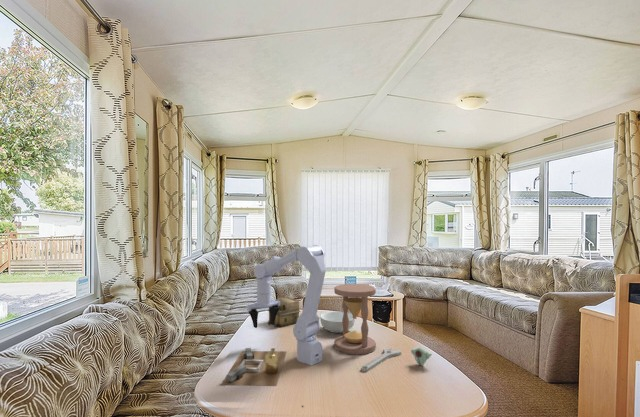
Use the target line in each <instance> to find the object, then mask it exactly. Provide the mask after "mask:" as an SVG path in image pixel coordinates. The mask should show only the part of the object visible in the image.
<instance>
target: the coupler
mask: <svg viewBox="0 0 640 417" xmlns="http://www.w3.org/2000/svg"><path fill="white" fill-rule="evenodd" d="M275 351H276V348H275V347H273V348H271V349H270V352H268V353H266V355H265V372H266V373H267V374H276V373H277V372H278V353H277V352H275Z"/></svg>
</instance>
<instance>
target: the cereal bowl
mask: <svg viewBox="0 0 640 417" xmlns="http://www.w3.org/2000/svg"><path fill="white" fill-rule="evenodd" d="M347 314H348V318H349V326H348V331H349V330H351V329H352V328H353V327H354V326H355V321H356V319H353V315H352V313H351V312H348V313H347ZM343 315H344V312H343V311H341V310H339V311H338V310H335V311H328V312H327V311H326V312H324V313H322V314H320V316H319V318H320V319H319V320H320V323H321V326H322V327H323V329H325V330H327V331H329V332H331V333H333V334H334V333H335V334H343V324H342V319H343Z"/></svg>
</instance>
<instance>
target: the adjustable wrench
mask: <svg viewBox="0 0 640 417" xmlns="http://www.w3.org/2000/svg"><path fill="white" fill-rule="evenodd" d="M401 355H402V349H401V348H399V347H398V348H397V350H392V347H391V346H389V347H386V348H384V349H382V354H380V355H379V356H377V357H376V358H374V359H372V360H370V361H369V362H367V363H365V364H363V365H362V366H360V371H361V372H363V373H367V372H369V371H371V370H372V369H374V368H376V367H377V366H379V365H380V364H382V363H383V362H385V361H386V360H388V359H391V358H393V357H399V356H401ZM381 362H382V363H381Z"/></svg>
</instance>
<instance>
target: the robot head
mask: <svg viewBox="0 0 640 417" xmlns="http://www.w3.org/2000/svg"><path fill="white" fill-rule="evenodd" d="M410 351H411V354H412V355H413V357H414V360H415V361H416V363H417V364H418V365H419V366H424V365H425V364H426V362H427V361H428V360H429V359H430V358H431V356H432V355H433V353H432V352H429V351H428V350H426V349H425V348H423V347H422V346H417V347H415V348H411V350H410Z"/></svg>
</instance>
